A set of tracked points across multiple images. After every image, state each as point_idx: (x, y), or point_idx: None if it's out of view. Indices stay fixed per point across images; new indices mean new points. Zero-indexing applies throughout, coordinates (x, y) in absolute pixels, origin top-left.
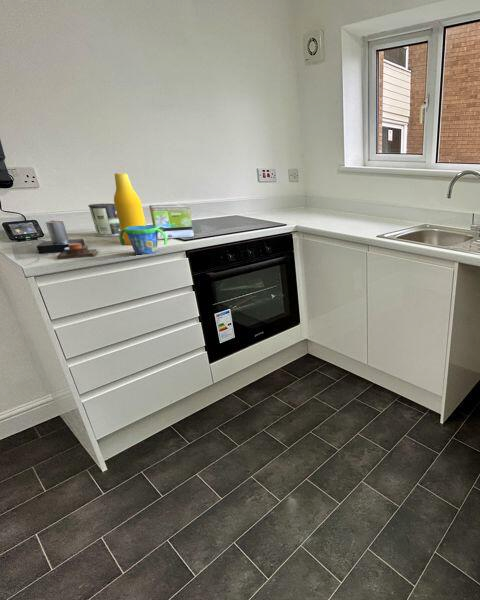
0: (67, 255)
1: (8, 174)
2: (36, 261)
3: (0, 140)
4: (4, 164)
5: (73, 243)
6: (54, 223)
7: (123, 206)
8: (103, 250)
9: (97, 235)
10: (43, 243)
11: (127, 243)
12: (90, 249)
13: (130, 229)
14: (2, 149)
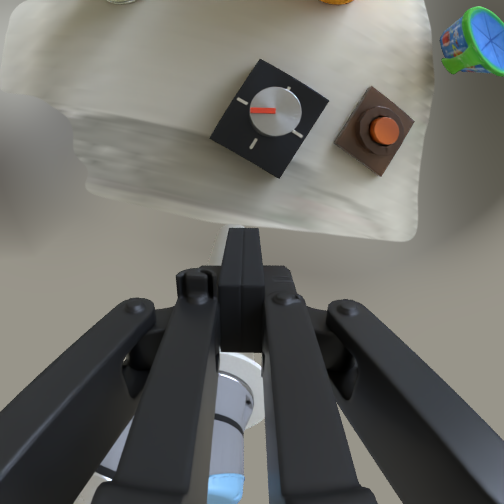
0: (391, 159)
1: (258, 242)
2: (363, 210)
3: (492, 431)
4: (261, 276)
5: (377, 128)
6: (298, 120)
7: None
8: (361, 69)
9: (123, 3)
10: (252, 153)
11: (340, 4)
12: (368, 96)
13: (492, 59)
14: (417, 360)
